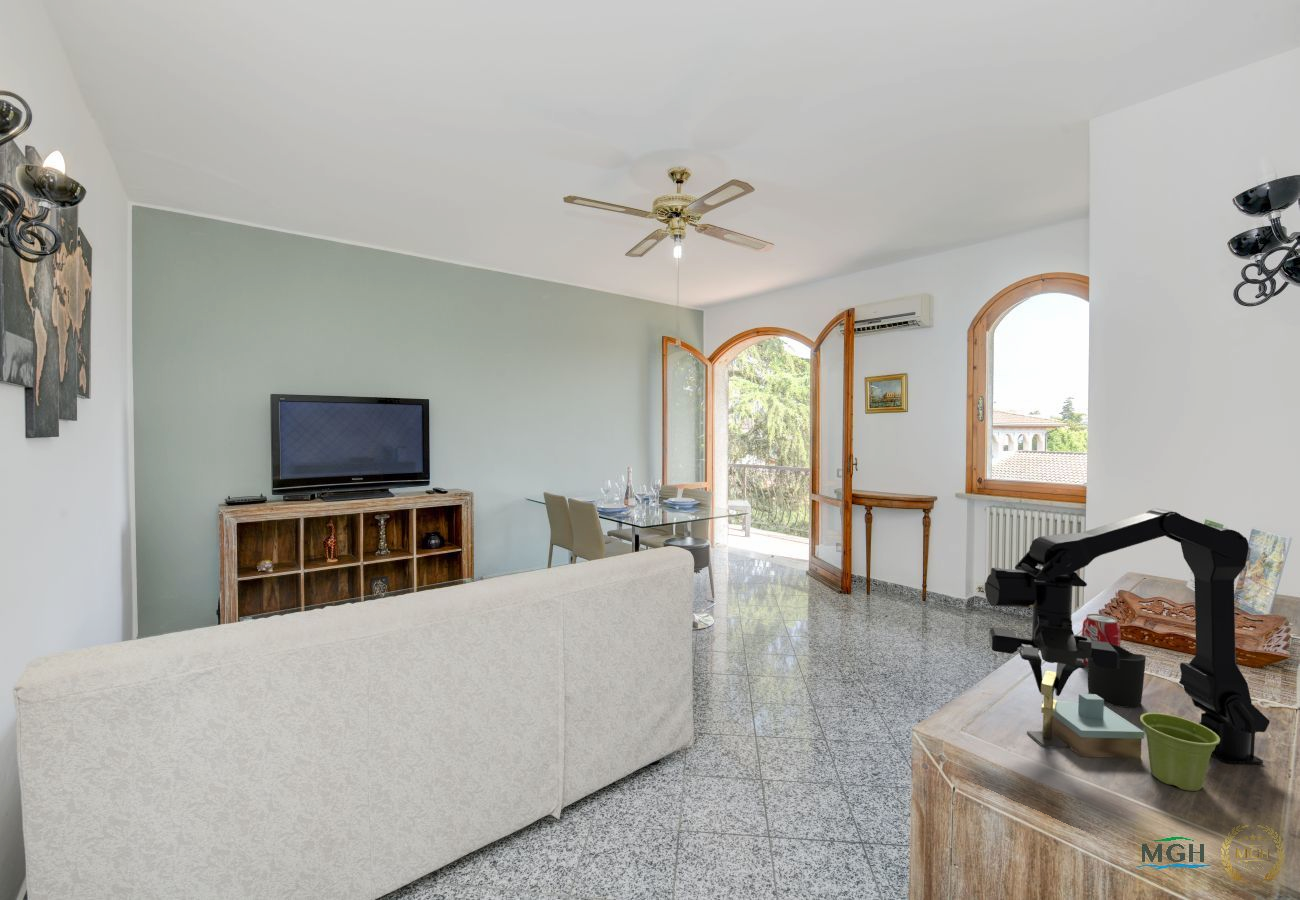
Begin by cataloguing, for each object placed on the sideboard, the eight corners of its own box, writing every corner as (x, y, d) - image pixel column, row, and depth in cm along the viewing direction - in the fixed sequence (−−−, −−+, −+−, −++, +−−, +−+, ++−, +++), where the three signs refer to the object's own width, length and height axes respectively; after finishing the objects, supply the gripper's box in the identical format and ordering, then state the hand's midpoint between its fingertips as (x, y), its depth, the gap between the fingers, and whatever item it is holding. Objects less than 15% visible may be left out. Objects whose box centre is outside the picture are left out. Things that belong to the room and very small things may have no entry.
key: (1044, 726, 107) (1046, 669, 107) (1055, 730, 106) (1057, 672, 106) (1038, 743, 102) (1040, 683, 101) (1050, 747, 100) (1052, 686, 100)
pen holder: (1135, 693, 122) (1137, 647, 121) (1150, 713, 113) (1152, 664, 113) (1081, 684, 126) (1083, 639, 126) (1091, 702, 118) (1093, 655, 117)
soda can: (1073, 663, 137) (1075, 614, 136) (1095, 660, 139) (1096, 611, 138) (1104, 676, 130) (1107, 624, 129) (1126, 672, 132) (1129, 621, 131)
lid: (1098, 708, 108) (1099, 684, 108) (1143, 738, 98) (1144, 711, 98) (1042, 707, 109) (1043, 683, 108) (1081, 737, 98) (1082, 710, 98)
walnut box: (1097, 727, 108) (1098, 708, 108) (1140, 757, 98) (1141, 738, 98) (1018, 725, 109) (1018, 707, 109) (1052, 755, 99) (1053, 736, 99)
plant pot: (1176, 762, 97) (1178, 712, 97) (1234, 798, 88) (1237, 743, 87) (1122, 763, 97) (1124, 712, 96) (1175, 799, 87) (1178, 744, 87)
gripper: (997, 614, 99) (994, 702, 100) (1133, 631, 91) (1129, 726, 92) (989, 597, 109) (987, 677, 110) (1111, 610, 101) (1107, 696, 102)
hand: (1048, 693), depth 103 cm, fingers closed on key, 2 cm apart
